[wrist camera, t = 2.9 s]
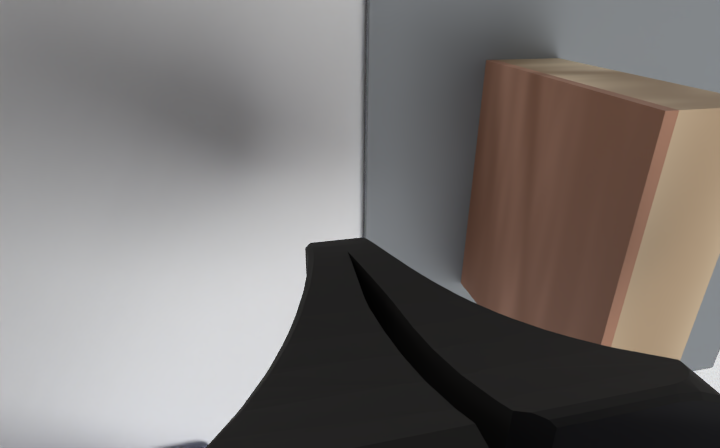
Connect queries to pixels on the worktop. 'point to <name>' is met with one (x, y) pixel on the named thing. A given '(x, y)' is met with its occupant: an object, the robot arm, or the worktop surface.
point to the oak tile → (594, 203)
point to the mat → (463, 104)
